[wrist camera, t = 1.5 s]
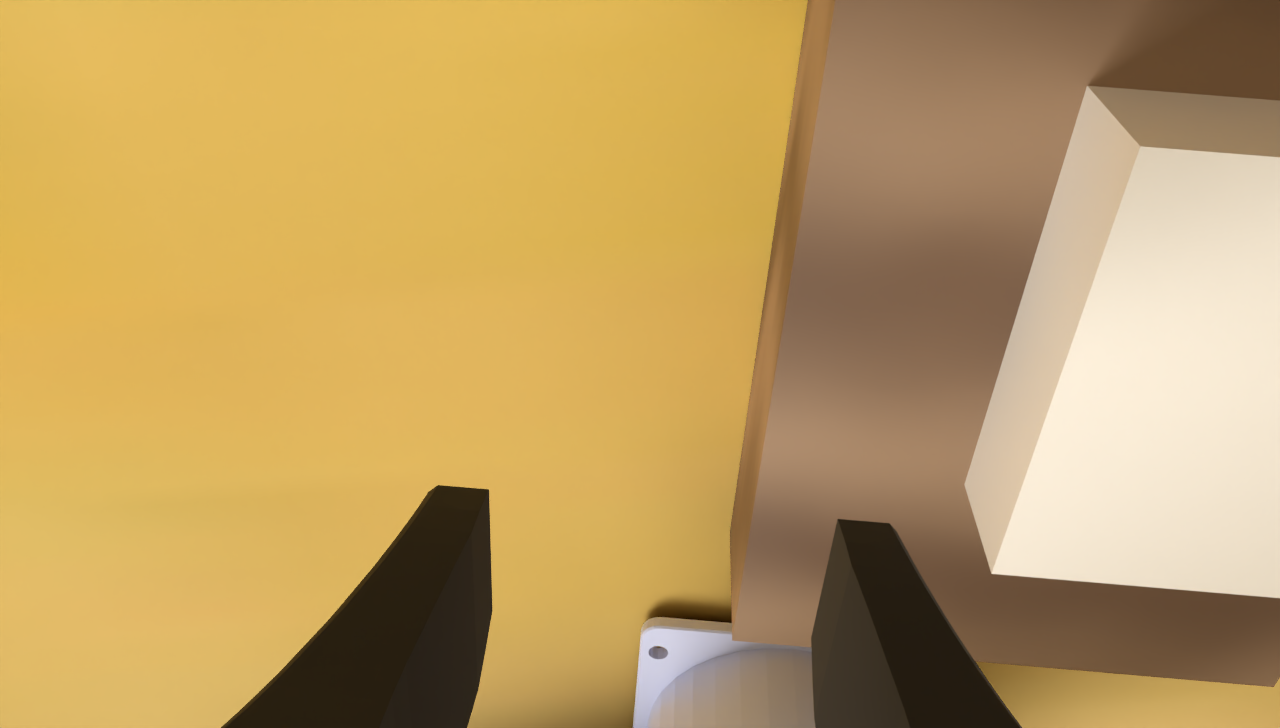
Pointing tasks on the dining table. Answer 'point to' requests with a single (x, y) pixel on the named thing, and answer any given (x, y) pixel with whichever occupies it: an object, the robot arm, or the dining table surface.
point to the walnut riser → (953, 312)
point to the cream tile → (1146, 358)
